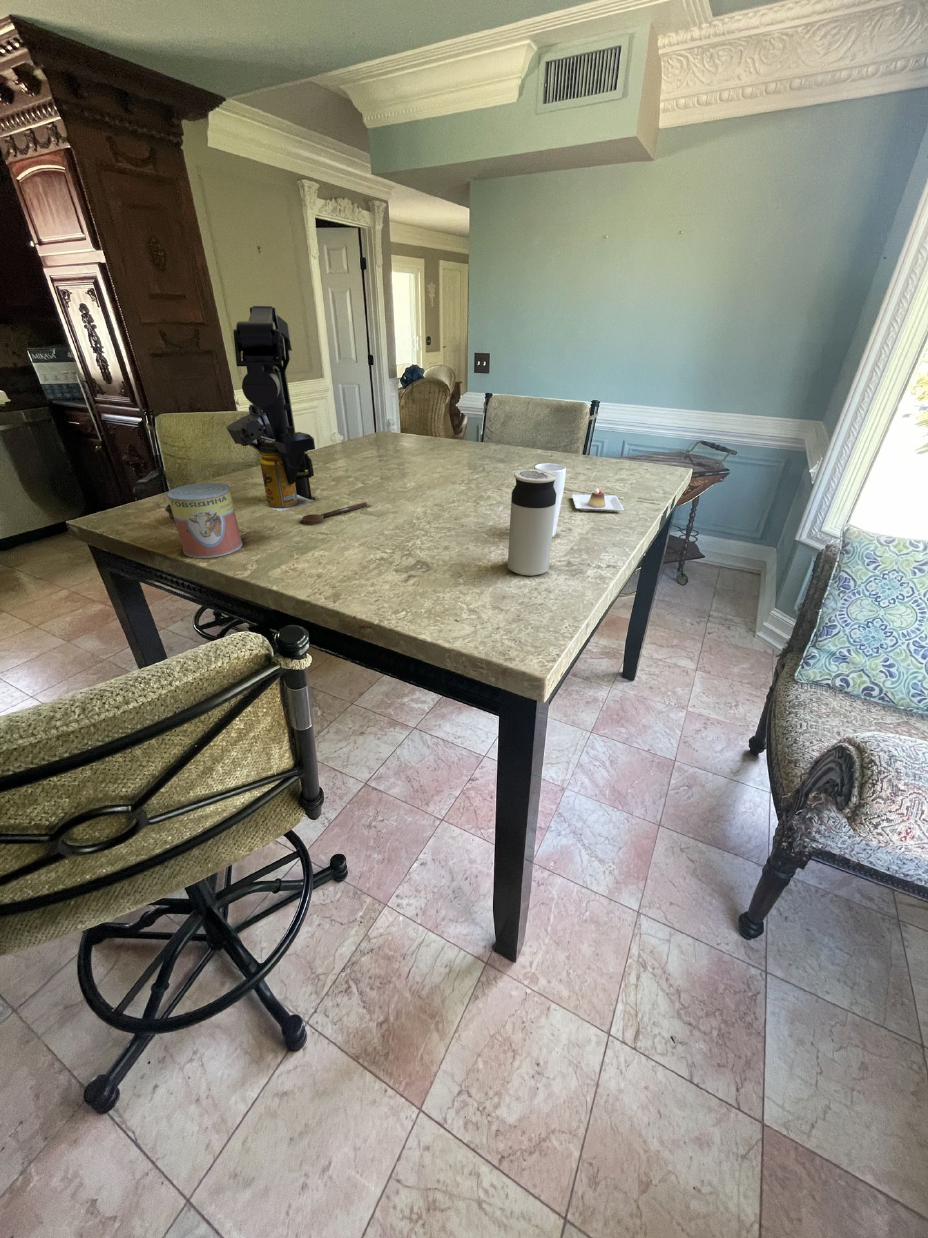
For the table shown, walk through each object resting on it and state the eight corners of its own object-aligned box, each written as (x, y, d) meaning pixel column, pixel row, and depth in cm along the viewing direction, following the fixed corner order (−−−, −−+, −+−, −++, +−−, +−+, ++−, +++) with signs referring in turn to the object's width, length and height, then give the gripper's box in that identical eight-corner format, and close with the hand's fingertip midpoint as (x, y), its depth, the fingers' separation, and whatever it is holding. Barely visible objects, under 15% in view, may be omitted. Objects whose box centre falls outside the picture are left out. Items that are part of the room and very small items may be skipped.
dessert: (615, 499, 136) (618, 482, 133) (623, 514, 125) (626, 495, 123) (571, 498, 137) (573, 480, 134) (575, 512, 126) (577, 493, 124)
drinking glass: (561, 531, 114) (568, 464, 107) (556, 541, 109) (563, 472, 101) (532, 527, 116) (537, 462, 109) (525, 537, 111) (530, 469, 103)
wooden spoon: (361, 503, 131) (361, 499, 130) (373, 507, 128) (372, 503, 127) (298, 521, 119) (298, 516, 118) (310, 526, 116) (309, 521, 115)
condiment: (259, 503, 104) (247, 444, 98) (293, 493, 110) (285, 437, 104) (279, 512, 101) (269, 451, 94) (314, 502, 106) (307, 444, 100)
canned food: (184, 562, 98) (166, 502, 92) (182, 542, 107) (166, 486, 100) (245, 552, 103) (232, 494, 96) (239, 534, 111) (226, 480, 105)
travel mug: (519, 579, 93) (527, 482, 83) (500, 563, 99) (504, 471, 90) (556, 572, 95) (567, 477, 86) (535, 557, 102) (543, 467, 92)
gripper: (204, 397, 95) (223, 479, 103) (253, 409, 84) (271, 499, 93) (258, 392, 102) (272, 469, 110) (310, 402, 92) (322, 487, 100)
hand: (283, 480), depth 103 cm, fingers closed on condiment, 6 cm apart
